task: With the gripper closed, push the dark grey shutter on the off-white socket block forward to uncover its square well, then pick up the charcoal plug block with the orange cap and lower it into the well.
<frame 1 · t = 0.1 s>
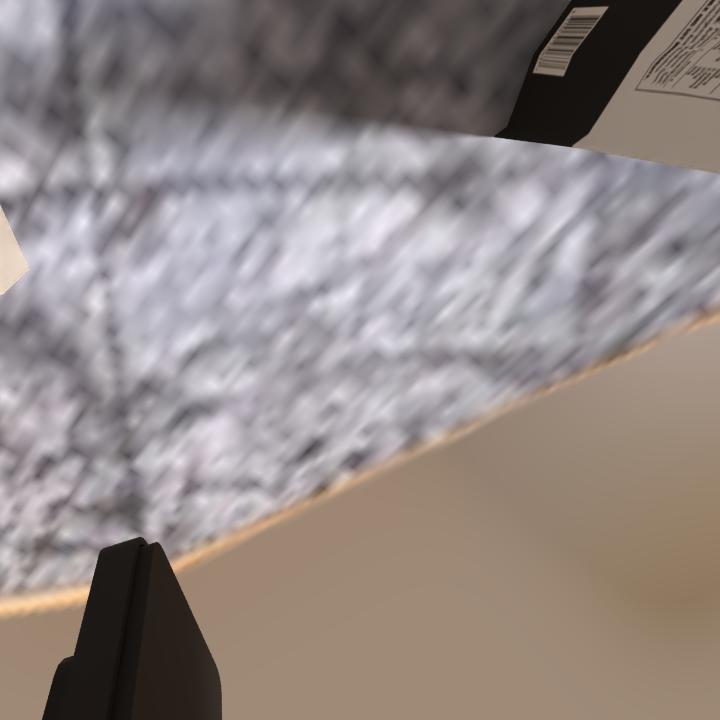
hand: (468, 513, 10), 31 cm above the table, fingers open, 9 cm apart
protein powder: (658, 18, 39), on the table
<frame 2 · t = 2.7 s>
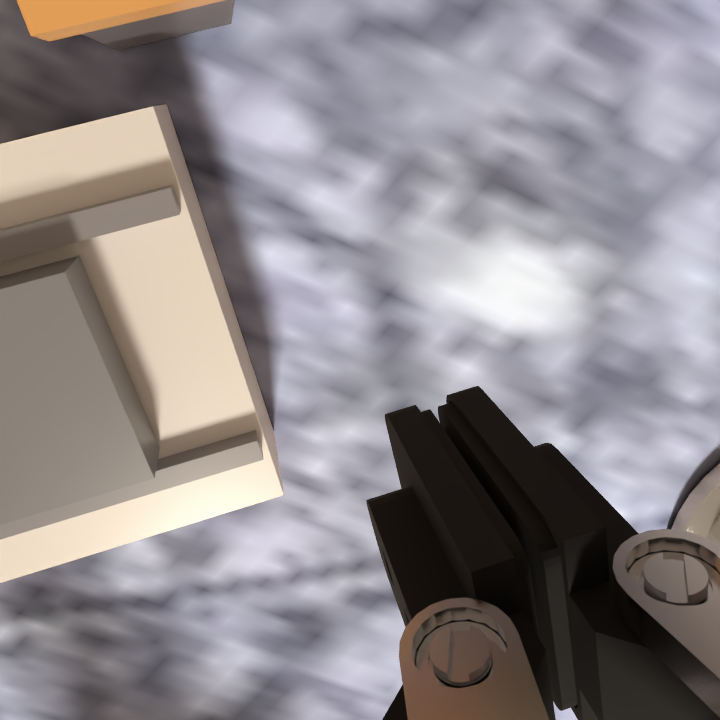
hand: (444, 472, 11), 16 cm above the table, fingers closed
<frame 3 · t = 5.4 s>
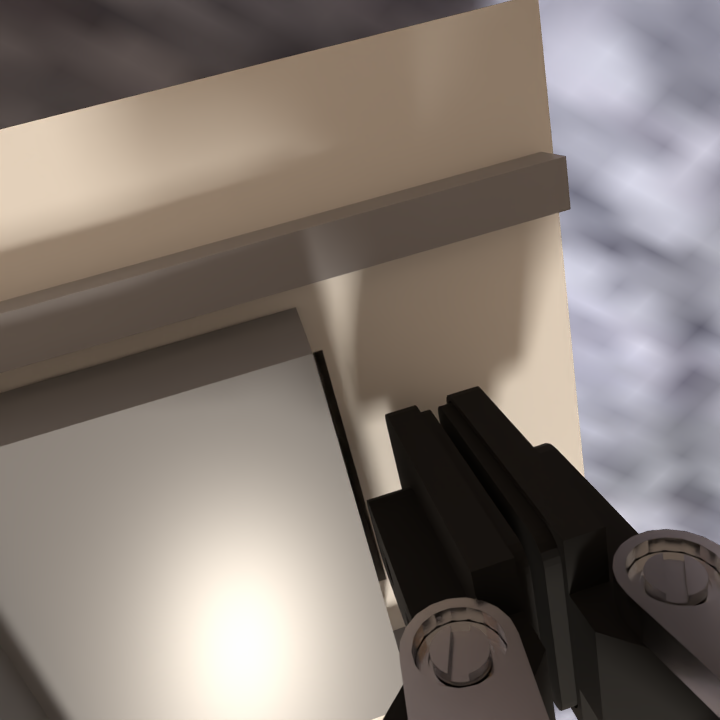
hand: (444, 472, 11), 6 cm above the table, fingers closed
shutter: (149, 605, 10), point 7 cm above the table, slide at 1.1 cm, touching gripper
socket: (100, 434, 16), on the table
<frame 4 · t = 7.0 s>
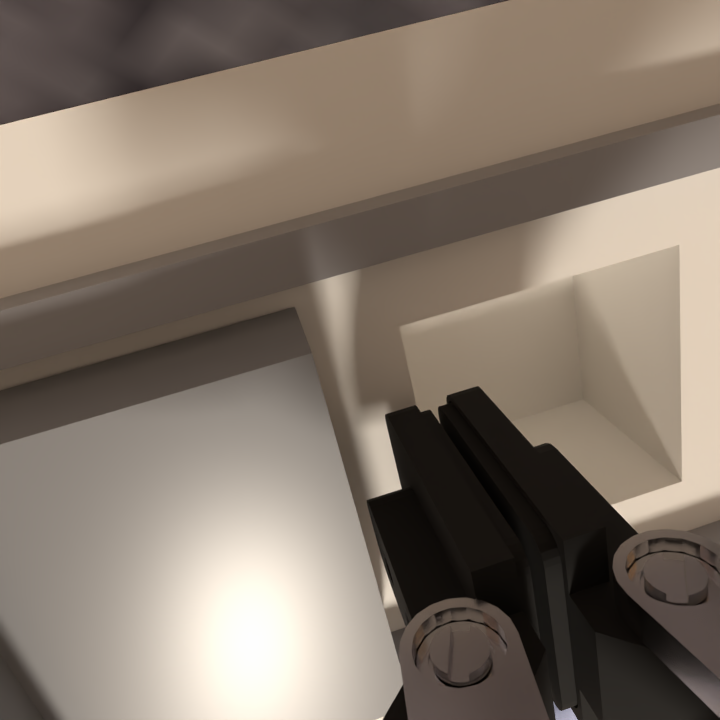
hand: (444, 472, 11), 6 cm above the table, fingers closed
shutter: (146, 606, 10), point 7 cm above the table, slide at 7.7 cm, touching gripper
socket: (353, 358, 16), on the table
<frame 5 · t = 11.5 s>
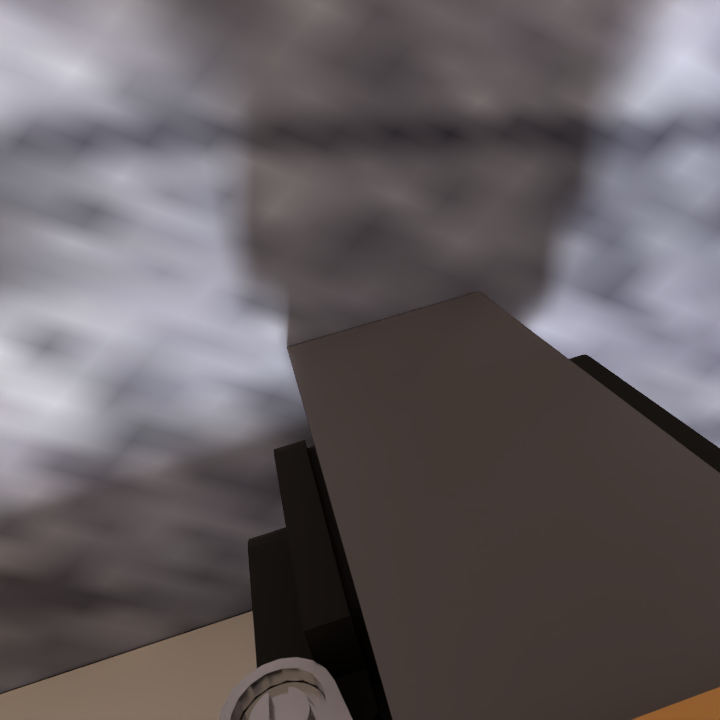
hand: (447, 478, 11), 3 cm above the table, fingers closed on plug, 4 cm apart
plug: (403, 405, 13), on the table, touching gripper
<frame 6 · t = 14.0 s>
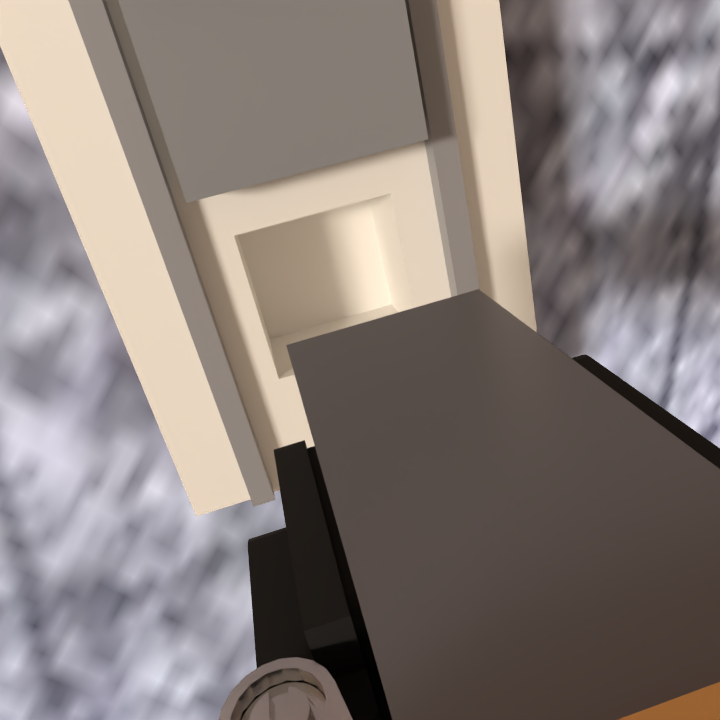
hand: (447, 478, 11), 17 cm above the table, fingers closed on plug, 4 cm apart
shutter: (273, 34, 17), point 7 cm above the table, slide at 7.7 cm
plug: (403, 403, 13), point 14 cm above the table, touching gripper
socket: (292, 182, 25), on the table
when the fingers open (6 cm above the table, at t = 16.7 s): plug drops 2 cm, resting on socket.
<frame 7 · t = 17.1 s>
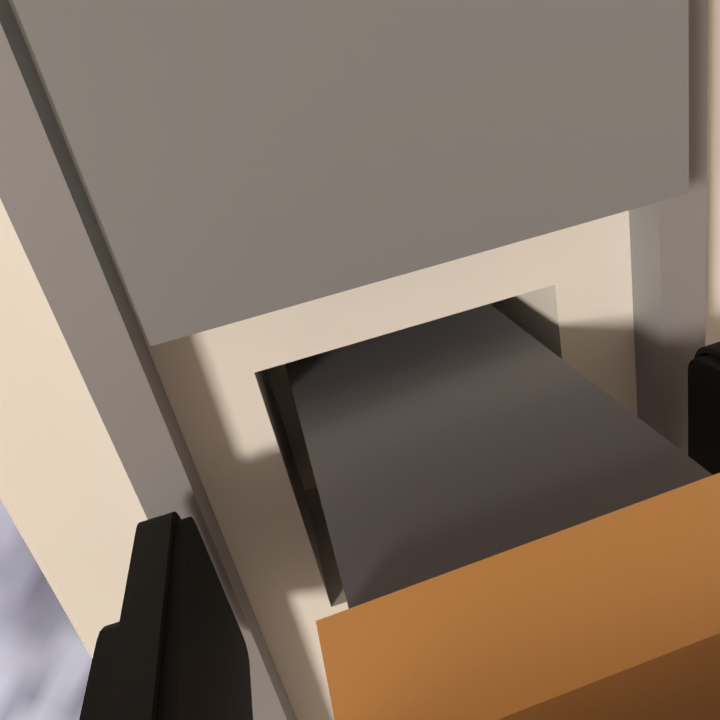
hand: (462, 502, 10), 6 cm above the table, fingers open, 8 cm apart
plug: (380, 371, 15), point 1 cm above the table, touching socket
socket: (346, 240, 15), on the table
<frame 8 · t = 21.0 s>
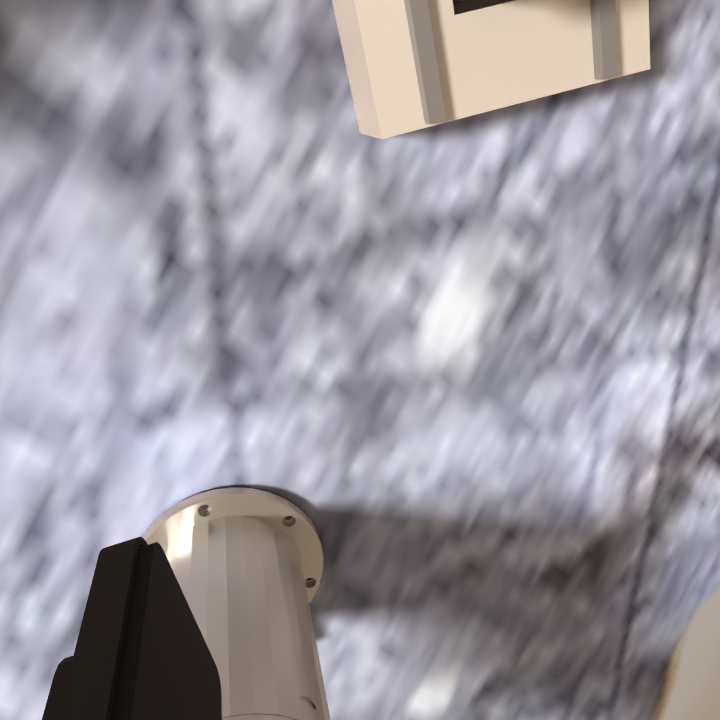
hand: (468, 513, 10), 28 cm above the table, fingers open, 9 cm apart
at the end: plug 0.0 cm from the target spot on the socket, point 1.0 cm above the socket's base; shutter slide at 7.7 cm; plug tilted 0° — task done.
